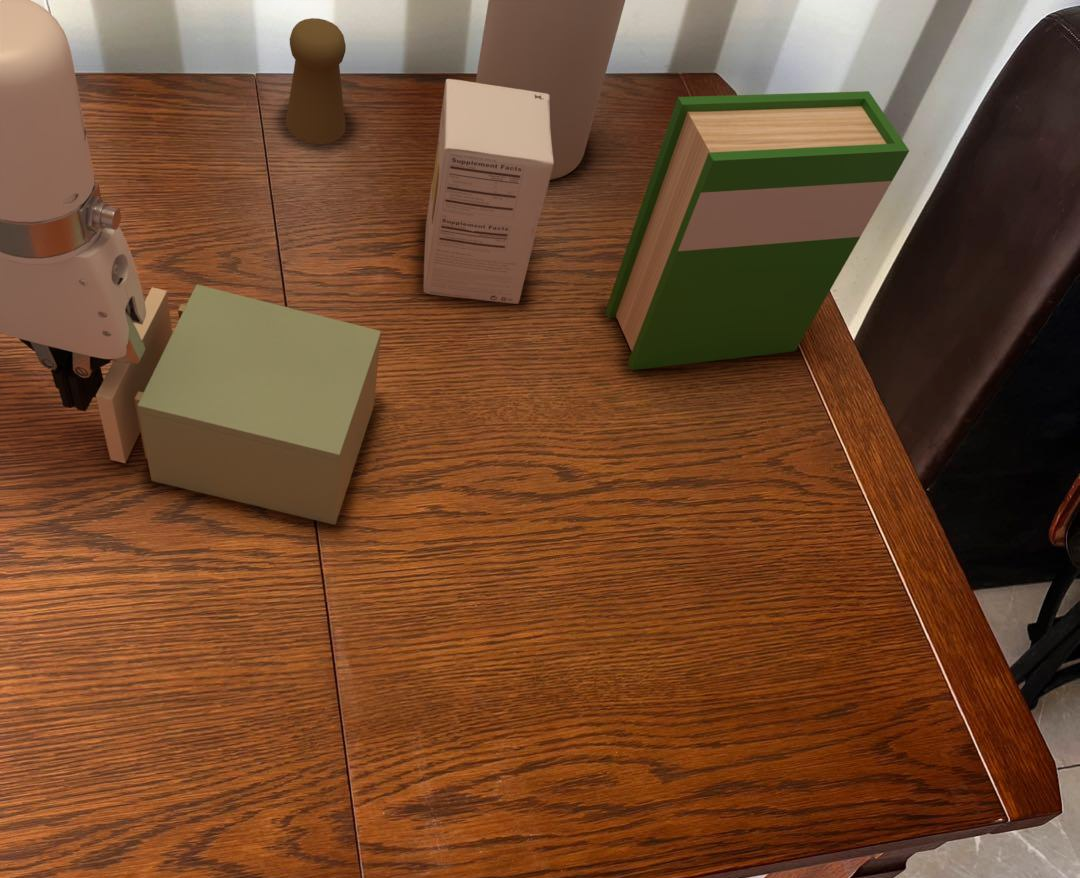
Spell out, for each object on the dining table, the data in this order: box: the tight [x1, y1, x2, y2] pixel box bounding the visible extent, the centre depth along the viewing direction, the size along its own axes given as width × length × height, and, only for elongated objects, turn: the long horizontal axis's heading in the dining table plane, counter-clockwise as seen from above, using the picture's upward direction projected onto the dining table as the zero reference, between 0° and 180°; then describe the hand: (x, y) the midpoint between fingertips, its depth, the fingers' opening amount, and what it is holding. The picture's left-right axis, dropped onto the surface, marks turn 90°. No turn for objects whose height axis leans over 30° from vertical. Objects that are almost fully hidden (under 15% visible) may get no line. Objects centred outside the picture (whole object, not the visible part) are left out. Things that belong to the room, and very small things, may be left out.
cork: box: [285, 17, 347, 145], centre depth 106 cm, size 6×6×11 cm
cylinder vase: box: [475, 0, 626, 181], centre depth 105 cm, size 12×12×25 cm
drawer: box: [95, 286, 187, 464], centre depth 85 cm, size 15×11×8 cm
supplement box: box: [423, 78, 554, 305], centre depth 97 cm, size 10×9×17 cm
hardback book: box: [605, 90, 910, 371], centre depth 95 cm, size 18×7×24 cm, turn 107°
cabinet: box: [138, 283, 382, 525], centre depth 85 cm, size 15×13×10 cm
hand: (82, 395), depth 82 cm, fingers closed
